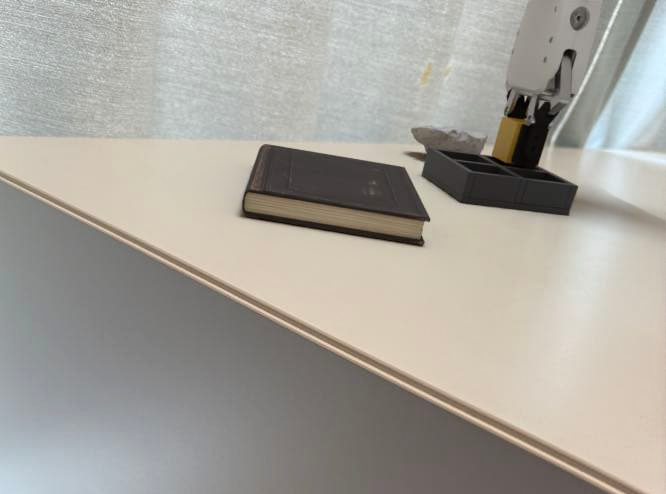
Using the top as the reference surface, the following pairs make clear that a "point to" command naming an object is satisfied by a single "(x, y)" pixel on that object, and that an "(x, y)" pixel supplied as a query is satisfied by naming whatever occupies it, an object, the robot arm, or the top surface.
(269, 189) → the hardcover book
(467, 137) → the fossil
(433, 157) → the divided tray
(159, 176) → the top surface
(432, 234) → the top surface
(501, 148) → the block
